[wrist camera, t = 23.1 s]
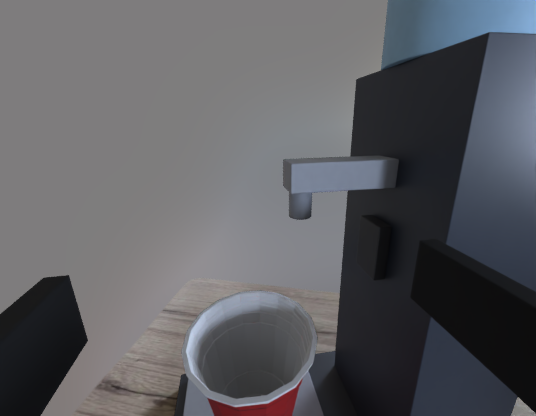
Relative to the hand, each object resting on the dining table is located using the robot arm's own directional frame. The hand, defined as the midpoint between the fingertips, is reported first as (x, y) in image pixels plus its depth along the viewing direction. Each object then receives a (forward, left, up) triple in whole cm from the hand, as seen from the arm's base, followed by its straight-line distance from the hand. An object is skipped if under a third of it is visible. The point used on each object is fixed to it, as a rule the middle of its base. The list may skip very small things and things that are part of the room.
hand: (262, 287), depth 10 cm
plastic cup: (-3, -8, -22) cm, 24 cm away
